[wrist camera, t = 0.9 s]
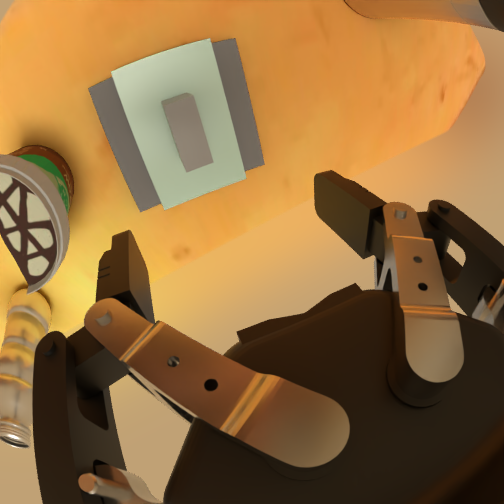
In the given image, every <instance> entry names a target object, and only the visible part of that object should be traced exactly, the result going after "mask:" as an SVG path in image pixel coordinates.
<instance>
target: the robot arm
mask: <svg viewBox="0 0 504 504" xmlns="http://www.w3.org/2000/svg"><path fill="white" fill-rule="evenodd" d="M345 1H346V3H347V4H348V5H349V6H350V7H351V8H352V9H353V10H355V11H356V12H357V13H359V14H361V15H363V16H365V17H368V18H404V19H426V20H438V21H448V22H456V23H463V24H469V25H475V26H481V27H486V28H490V29H495V30H499V31H502V32H504V0H345ZM314 199H315V210H316V212H317V215H318V216H319V218H321V219H322V221H324V222H325V223H326V224H327V225H328V226H329V227H330V228H331V229H332V230H333V231H334V232H335V233H336V234H337V235H339V236H340V237H341V238H342V239H343V240H344V241H345V242H346V243H347V244H348V245H349V246H350V247H351V248H352V249H353V250H354V251H355V252H356V253H357V254H358V255H359V256H360V257H361V258H362V259H365V258H367V257H370V256H372V255H374V256H375V261H374V273H375V274H374V275H375V290H364V291H362V290H361V289H360V287H359V286H358V285H357V284H356V283H354V284H352V285H350V286H348V287H345V288H343V289H341V290H339V291H337V292H334V293H332V294H330V295H328V296H327V297H326V298H324V299H323V300H322V301H320V302H319V303H318V304H316V305H315V306H314V307H313V308H311V309H310V310H308V311H307V312H305V313H303V314H298V315H293V316H287V317H281V318H276V319H269V320H267V321H264V322H261V323H259V324H256V325H253V326H251V327H248V328H245V329H243V330H240V331H237V335H238V338H239V342H238V343H236V344H235V345H234V346H232V347H231V348H230V349H229V350H228V351H227V352H226V353H225V354H224V355H221V354H219V353H217V352H215V351H214V350H212V349H210V348H208V347H206V346H204V345H202V344H201V343H199V342H197V341H195V340H193V339H192V338H190V337H188V336H186V335H185V334H183V333H181V332H179V331H178V330H176V329H174V328H173V327H171V326H169V325H168V324H166V323H164V322H162V321H157V322H156V323H155V319H154V313H153V306H152V299H151V292H150V284H149V276H148V271H147V267H146V264H145V261H144V259H143V257H142V255H141V252H140V250H139V248H138V246H137V243H136V241H135V239H134V236H133V234H132V232H131V231H130V230H127V231H125V232H122V233H119V234H116V235H114V236H113V237H112V247H111V250H108V251H106V252H104V254H103V256H102V257H101V259H100V261H99V268H98V271H99V272H98V279H97V290H96V303H95V304H94V305H93V306H91V308H90V309H89V310H88V311H87V313H86V315H85V319H84V325H85V326H84V327H82V328H81V329H80V330H78V331H77V332H75V333H74V334H72V335H71V336H69V337H68V338H66V337H65V336H64V335H63V334H62V333H61V332H59V331H53V332H50V333H48V334H46V335H45V336H44V337H43V338H42V339H41V340H40V341H39V343H38V345H37V347H36V349H35V355H34V368H33V390H32V416H33V437H34V449H35V458H36V466H37V474H38V480H39V486H40V492H41V497H42V501H43V504H504V246H503V245H502V244H501V243H500V242H499V241H498V240H496V239H495V238H494V237H493V236H492V235H491V234H489V233H488V232H487V231H486V230H484V229H483V228H482V227H481V226H480V225H478V224H477V223H476V222H475V221H473V220H472V219H470V218H469V217H468V216H467V215H465V214H464V213H463V212H462V211H460V210H459V209H458V208H456V207H455V206H453V205H452V204H450V203H448V202H446V201H443V200H432V201H430V202H429V206H428V210H427V212H416V211H415V210H414V209H413V208H412V207H411V206H409V205H407V204H404V203H400V202H390V203H386V202H384V201H383V200H382V199H380V198H379V197H377V196H376V195H374V194H373V193H371V192H369V191H368V190H367V189H365V188H362V186H361V185H359V184H358V183H356V182H355V181H352V180H349V179H346V178H344V177H342V176H341V175H339V174H337V173H336V172H334V171H332V170H330V171H325V172H321V173H317V174H316V175H315V177H314ZM451 239H452V240H453V241H454V242H455V243H456V244H458V246H460V247H461V248H462V249H463V250H464V252H465V255H466V260H465V263H464V265H463V267H462V266H461V265H460V264H459V263H458V262H457V261H456V260H455V259H454V258H453V257H452V256H451V255H449V253H448V252H447V249H448V246H449V243H450V240H451ZM447 293H448V294H449V295H450V296H451V298H452V299H453V300H454V301H455V302H456V303H457V304H458V305H459V306H460V308H461V309H462V310H463V311H464V312H465V313H466V314H467V316H466V315H462V314H459V313H456V312H454V311H452V310H451V308H450V304H449V300H448V295H447ZM126 375H128V376H129V377H130V378H131V379H133V380H134V381H135V382H136V383H137V384H139V385H140V386H141V387H142V388H143V389H145V390H146V391H147V392H148V393H150V394H151V395H152V396H154V397H155V398H156V399H157V400H159V401H160V402H161V403H163V404H164V405H165V406H166V407H168V408H169V409H170V410H171V411H172V412H174V413H175V414H176V415H178V416H179V417H180V418H182V419H183V420H185V421H186V422H188V423H189V424H190V425H191V426H190V429H189V431H188V434H187V436H186V439H185V441H184V444H183V446H182V449H181V451H180V454H179V456H178V459H177V461H176V464H175V466H174V469H173V471H172V474H171V476H170V479H169V481H168V484H167V486H166V489H165V492H164V498H163V502H161V501H159V500H157V499H156V498H155V497H154V496H153V495H152V494H151V493H150V491H149V489H148V487H147V485H146V484H145V482H144V481H143V480H142V479H141V478H140V477H139V476H137V475H135V474H133V473H130V472H127V469H126V466H125V462H124V459H123V455H122V451H121V447H120V442H119V438H118V434H117V429H116V424H115V419H114V414H113V409H112V403H111V397H110V391H109V386H110V385H112V384H113V383H115V382H116V381H118V380H119V379H121V378H122V377H124V376H126Z"/></svg>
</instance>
